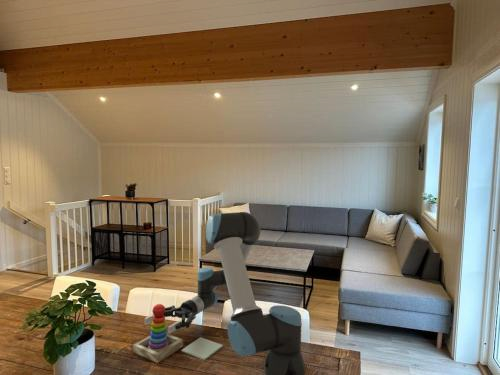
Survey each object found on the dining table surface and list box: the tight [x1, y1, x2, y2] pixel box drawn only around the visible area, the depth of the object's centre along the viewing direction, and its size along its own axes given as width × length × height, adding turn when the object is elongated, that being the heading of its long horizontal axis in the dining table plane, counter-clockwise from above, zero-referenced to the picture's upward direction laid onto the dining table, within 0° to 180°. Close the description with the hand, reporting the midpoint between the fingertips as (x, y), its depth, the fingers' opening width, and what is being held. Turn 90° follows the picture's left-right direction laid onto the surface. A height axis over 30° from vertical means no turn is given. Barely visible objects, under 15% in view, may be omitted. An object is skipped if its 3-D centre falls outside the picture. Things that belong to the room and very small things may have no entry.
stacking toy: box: [147, 303, 169, 352], centre depth 140 cm, size 8×8×19 cm
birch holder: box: [132, 332, 184, 363], centre depth 141 cm, size 14×14×3 cm
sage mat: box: [180, 337, 224, 361], centre depth 141 cm, size 12×12×1 cm
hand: (156, 325), depth 140 cm, fingers open, 13 cm apart
